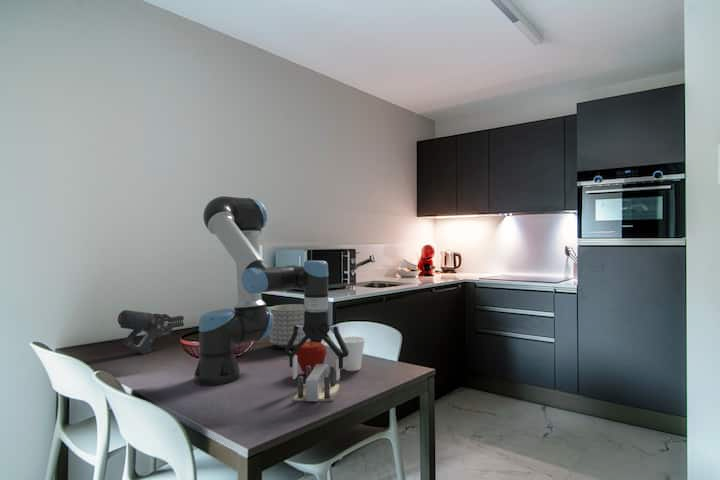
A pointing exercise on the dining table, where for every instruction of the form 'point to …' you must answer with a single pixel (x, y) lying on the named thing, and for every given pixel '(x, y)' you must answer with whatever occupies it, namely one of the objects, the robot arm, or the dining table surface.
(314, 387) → the grey stepped post
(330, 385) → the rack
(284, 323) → the planter
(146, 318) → the gun
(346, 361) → the cup
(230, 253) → the robot arm
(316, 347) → the apple
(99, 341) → the dining table surface
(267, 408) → the dining table surface
